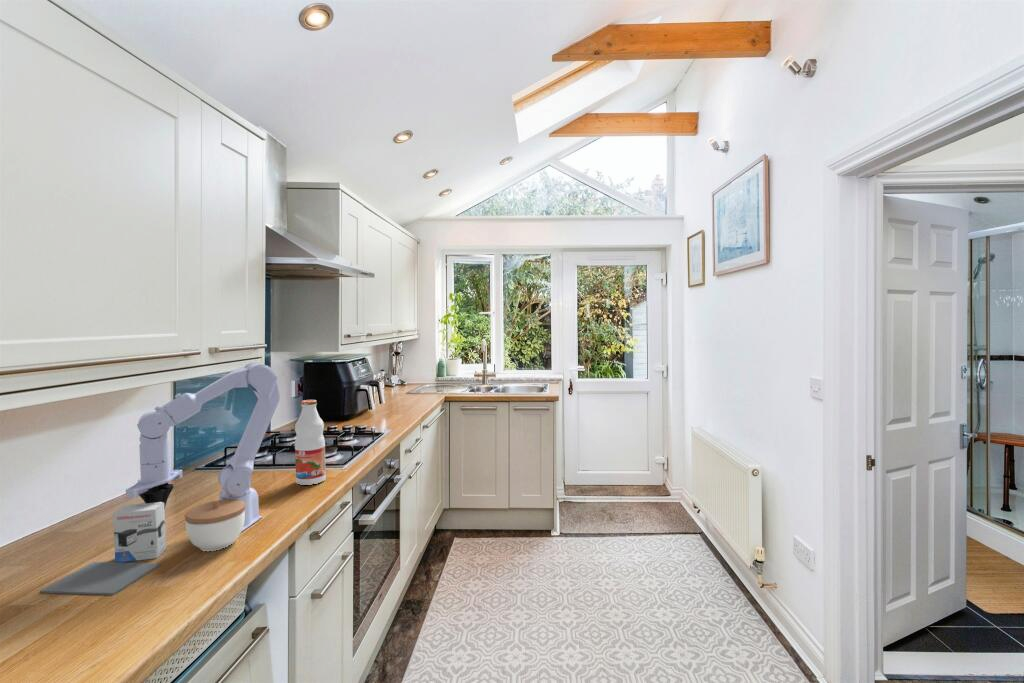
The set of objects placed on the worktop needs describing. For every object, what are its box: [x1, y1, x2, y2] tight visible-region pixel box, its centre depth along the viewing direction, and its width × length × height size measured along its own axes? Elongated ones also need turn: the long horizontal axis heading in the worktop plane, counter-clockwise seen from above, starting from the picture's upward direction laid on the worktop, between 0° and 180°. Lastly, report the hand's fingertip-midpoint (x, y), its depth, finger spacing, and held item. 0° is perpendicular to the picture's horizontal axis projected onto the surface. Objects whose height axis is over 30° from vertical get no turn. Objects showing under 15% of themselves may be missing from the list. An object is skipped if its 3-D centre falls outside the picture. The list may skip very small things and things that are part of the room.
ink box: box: [112, 502, 167, 563], centre depth 110 cm, size 8×5×12 cm, turn 105°
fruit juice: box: [294, 399, 327, 486], centre depth 160 cm, size 9×9×28 cm
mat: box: [39, 561, 161, 596], centre depth 101 cm, size 12×16×1 cm
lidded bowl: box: [184, 499, 245, 553], centre depth 116 cm, size 13×13×11 cm
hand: (157, 516), depth 115 cm, fingers closed
